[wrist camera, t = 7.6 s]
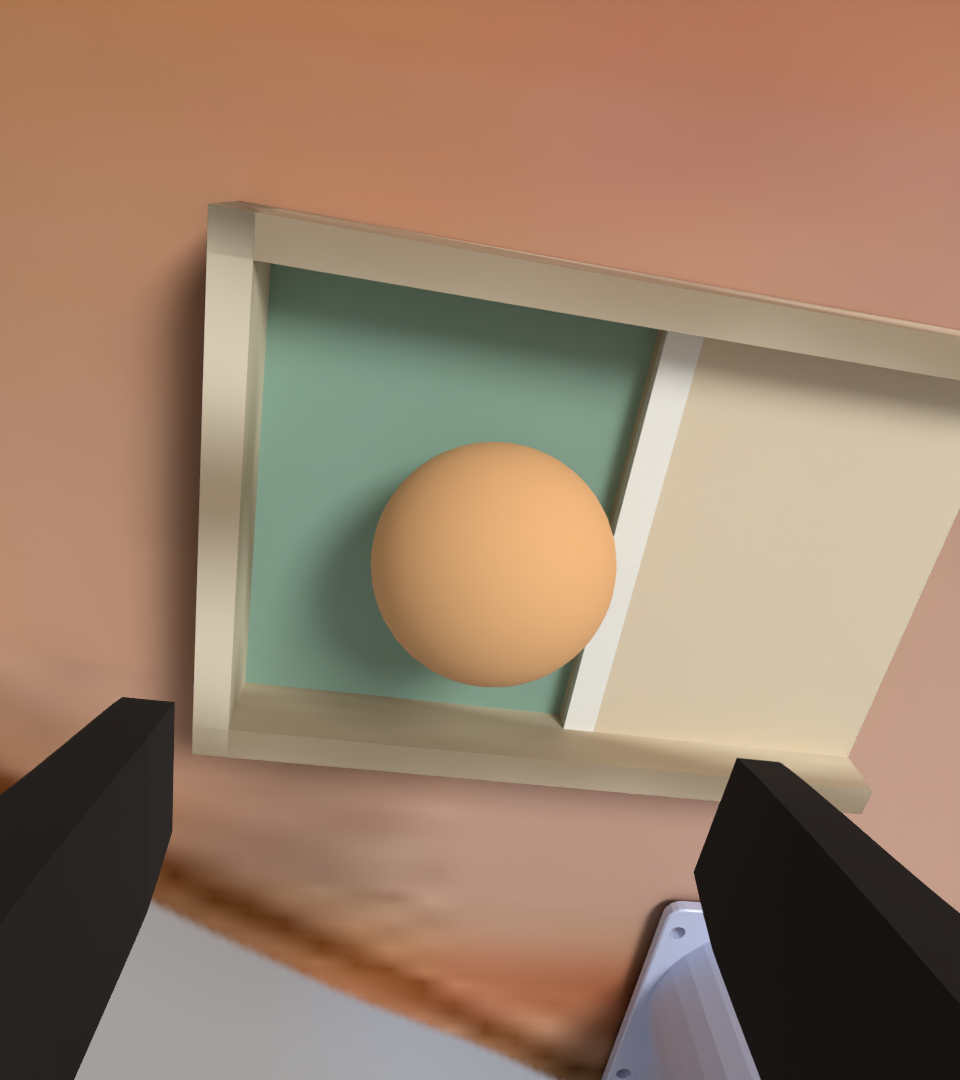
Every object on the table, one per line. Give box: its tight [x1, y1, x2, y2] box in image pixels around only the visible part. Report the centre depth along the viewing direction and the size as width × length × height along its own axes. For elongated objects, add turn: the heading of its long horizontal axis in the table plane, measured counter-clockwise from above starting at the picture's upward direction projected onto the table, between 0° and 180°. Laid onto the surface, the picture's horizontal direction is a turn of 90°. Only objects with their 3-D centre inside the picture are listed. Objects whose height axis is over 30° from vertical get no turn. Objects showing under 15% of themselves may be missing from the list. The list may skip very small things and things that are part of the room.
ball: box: [371, 442, 617, 687], centre depth 16 cm, size 5×5×5 cm
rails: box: [192, 201, 960, 814], centre depth 18 cm, size 12×17×2 cm
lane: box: [245, 263, 960, 757], centre depth 19 cm, size 12×17×1 cm
